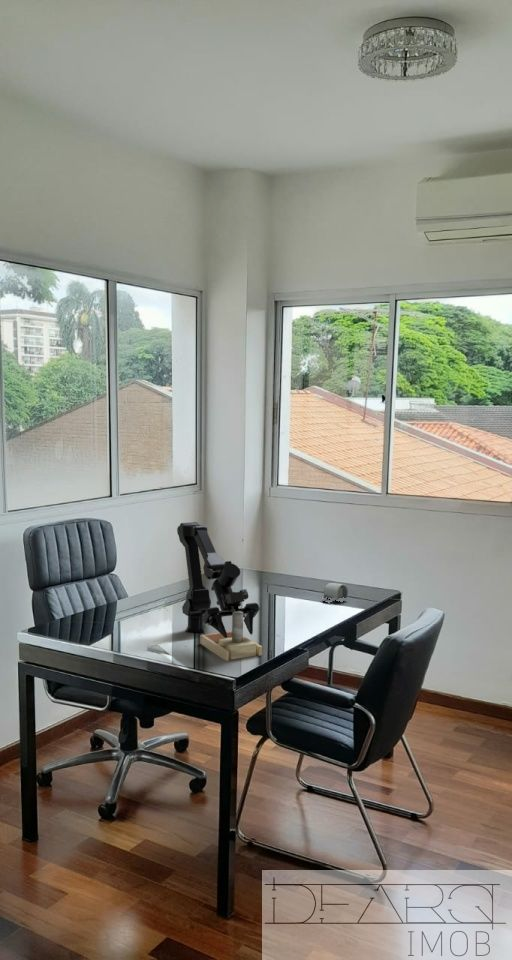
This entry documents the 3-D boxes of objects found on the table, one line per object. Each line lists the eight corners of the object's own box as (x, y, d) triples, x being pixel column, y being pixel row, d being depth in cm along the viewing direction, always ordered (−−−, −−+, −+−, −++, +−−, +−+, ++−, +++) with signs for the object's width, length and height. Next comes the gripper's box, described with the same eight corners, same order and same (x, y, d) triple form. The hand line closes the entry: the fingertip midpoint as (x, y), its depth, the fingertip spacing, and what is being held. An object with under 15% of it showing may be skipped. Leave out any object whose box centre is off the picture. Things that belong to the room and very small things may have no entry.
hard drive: (147, 647, 259) (177, 653, 252) (162, 640, 266) (192, 647, 259) (147, 651, 259) (177, 658, 252) (162, 645, 266) (192, 652, 259)
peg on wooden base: (218, 651, 255) (219, 610, 254) (242, 647, 260) (243, 607, 258) (230, 659, 248) (231, 617, 246) (255, 655, 252) (256, 614, 251)
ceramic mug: (332, 597, 336) (333, 579, 335) (348, 600, 330) (348, 583, 330) (317, 602, 328) (317, 584, 328) (332, 605, 323) (333, 587, 322)
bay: (198, 646, 264) (198, 634, 263) (235, 641, 270) (235, 630, 270) (224, 664, 246) (224, 651, 246) (263, 658, 253) (263, 646, 252)
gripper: (206, 583, 251) (221, 626, 242) (257, 578, 260) (273, 619, 251) (196, 602, 258) (209, 644, 250) (246, 596, 267) (261, 637, 258)
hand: (239, 635), depth 252 cm, fingers open, 9 cm apart
